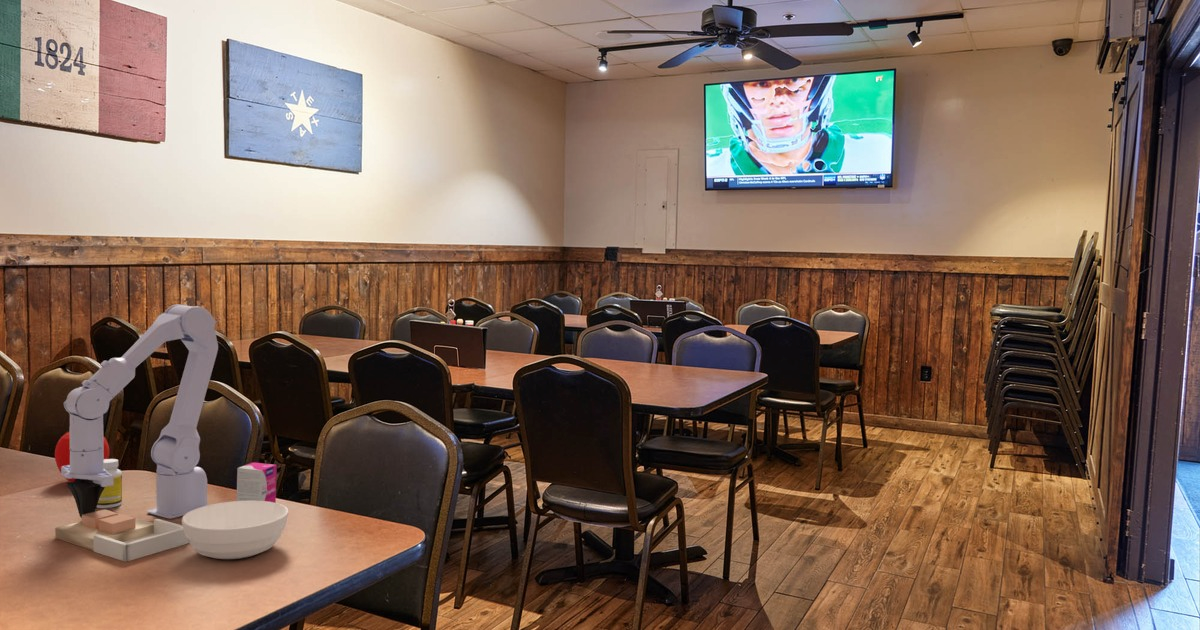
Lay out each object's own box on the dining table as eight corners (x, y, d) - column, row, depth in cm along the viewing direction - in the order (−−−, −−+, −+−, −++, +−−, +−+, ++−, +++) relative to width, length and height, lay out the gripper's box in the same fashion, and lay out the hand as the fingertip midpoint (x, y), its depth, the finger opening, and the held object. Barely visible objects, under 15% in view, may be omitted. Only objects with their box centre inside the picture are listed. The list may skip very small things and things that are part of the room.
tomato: (77, 474, 213) (76, 422, 212) (118, 477, 212) (118, 425, 211) (43, 486, 201) (42, 431, 201) (86, 489, 200) (86, 434, 199)
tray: (157, 533, 170) (157, 518, 170) (189, 542, 166) (189, 527, 166) (93, 551, 160) (93, 535, 159) (125, 561, 155) (125, 545, 155)
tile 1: (104, 519, 172) (104, 509, 172) (118, 523, 170) (118, 513, 170) (81, 525, 168) (81, 514, 168) (95, 529, 166) (95, 518, 166)
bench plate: (116, 522, 177) (116, 512, 176) (156, 534, 170) (156, 524, 170) (55, 538, 166) (55, 527, 166) (95, 551, 160) (95, 540, 160)
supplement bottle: (127, 504, 189) (126, 460, 188) (101, 510, 184) (101, 465, 184) (113, 500, 192) (113, 456, 191) (88, 506, 187) (88, 461, 187)
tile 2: (121, 524, 169) (121, 514, 169) (135, 528, 167) (135, 518, 167) (98, 530, 166) (98, 519, 165) (112, 534, 163) (112, 523, 163)
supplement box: (261, 525, 178) (261, 470, 177) (235, 522, 179) (235, 467, 178) (276, 517, 183) (277, 463, 183) (251, 514, 185) (251, 461, 184)
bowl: (308, 544, 167) (308, 507, 167) (240, 575, 150) (240, 534, 150) (232, 531, 173) (232, 496, 173) (158, 560, 156) (158, 521, 156)
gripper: (44, 447, 170) (45, 515, 171) (87, 457, 163) (88, 528, 164) (81, 441, 177) (82, 507, 177) (123, 450, 169) (124, 519, 170)
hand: (87, 516), depth 171 cm, fingers closed
